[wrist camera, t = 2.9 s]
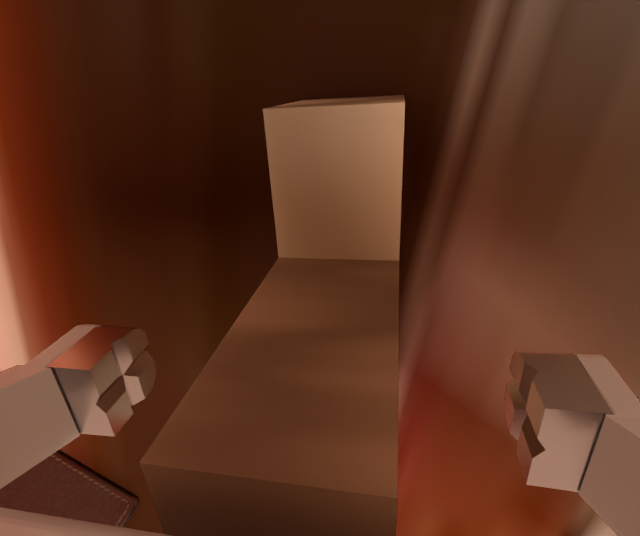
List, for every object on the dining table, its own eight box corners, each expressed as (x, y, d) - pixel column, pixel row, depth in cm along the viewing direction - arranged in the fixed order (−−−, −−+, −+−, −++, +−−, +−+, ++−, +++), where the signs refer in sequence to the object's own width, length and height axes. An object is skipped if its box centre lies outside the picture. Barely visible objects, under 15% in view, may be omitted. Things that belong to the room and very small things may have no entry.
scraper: (403, 95, 11) (413, 152, 3) (393, 367, 16) (385, 741, 7) (303, 99, 12) (30, 160, 3) (320, 361, 16) (224, 701, 7)
